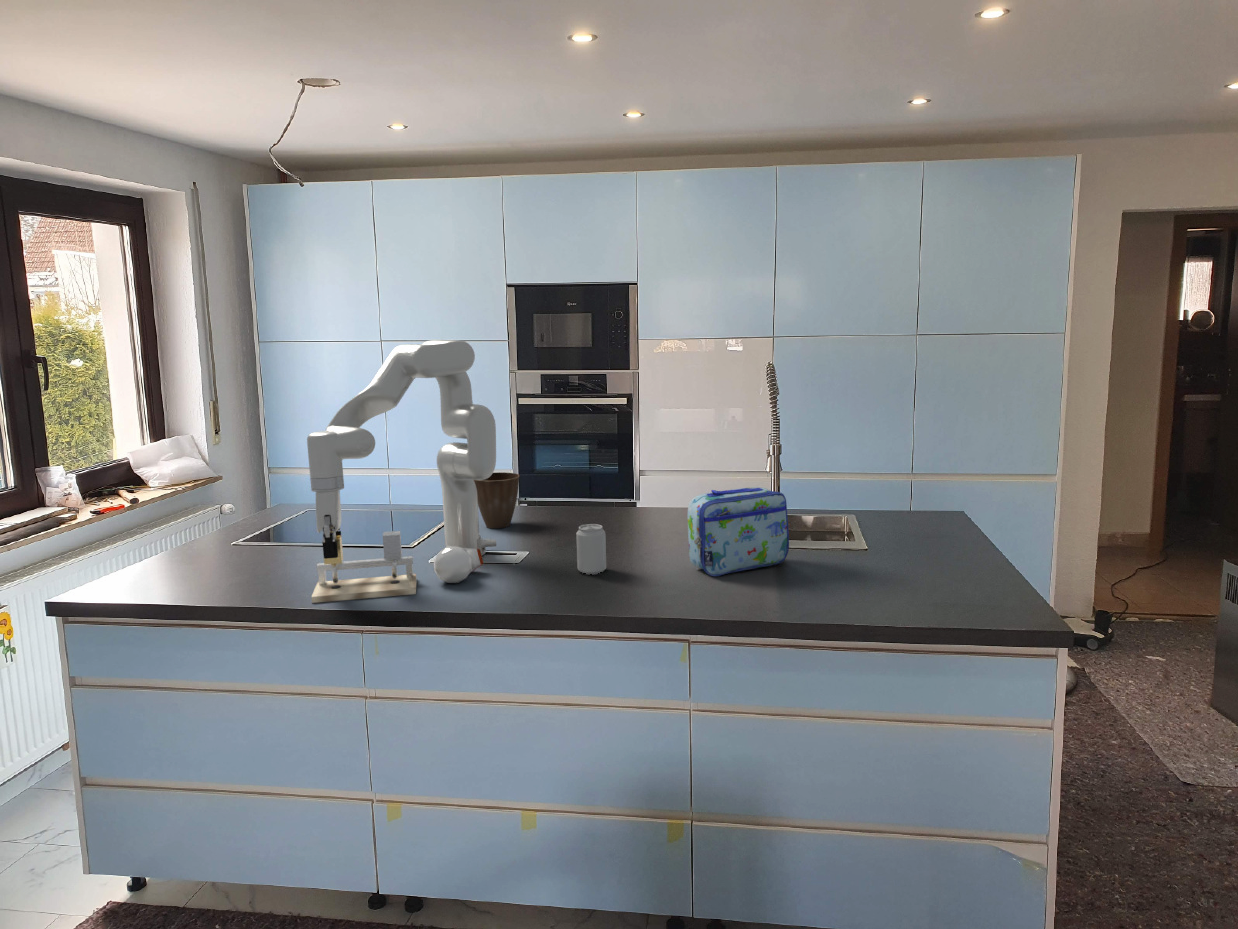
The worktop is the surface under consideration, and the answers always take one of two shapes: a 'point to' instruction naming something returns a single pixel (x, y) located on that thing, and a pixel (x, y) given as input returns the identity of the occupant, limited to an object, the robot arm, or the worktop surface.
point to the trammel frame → (390, 559)
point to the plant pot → (497, 498)
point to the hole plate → (364, 588)
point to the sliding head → (335, 560)
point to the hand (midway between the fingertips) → (333, 552)
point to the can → (591, 549)
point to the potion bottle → (456, 563)
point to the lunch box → (737, 530)
